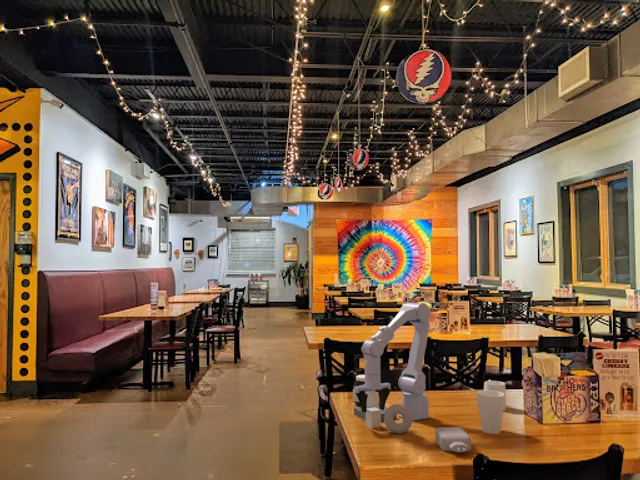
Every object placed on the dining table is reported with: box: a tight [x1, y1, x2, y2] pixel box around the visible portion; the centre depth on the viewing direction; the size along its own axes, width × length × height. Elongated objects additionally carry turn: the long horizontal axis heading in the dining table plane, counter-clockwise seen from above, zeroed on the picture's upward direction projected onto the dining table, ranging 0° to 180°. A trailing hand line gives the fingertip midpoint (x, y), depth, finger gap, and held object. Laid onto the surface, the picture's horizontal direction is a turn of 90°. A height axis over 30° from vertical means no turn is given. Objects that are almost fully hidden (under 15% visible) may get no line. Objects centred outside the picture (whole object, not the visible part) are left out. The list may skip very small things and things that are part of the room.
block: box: [365, 407, 382, 429], centre depth 183 cm, size 4×4×6 cm
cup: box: [483, 379, 507, 411], centre depth 209 cm, size 8×12×10 cm
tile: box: [353, 404, 398, 422], centre depth 195 cm, size 12×12×2 cm
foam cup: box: [476, 389, 505, 435], centre depth 177 cm, size 10×9×13 cm
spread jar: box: [352, 374, 379, 407], centre depth 212 cm, size 12×11×12 cm
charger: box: [434, 426, 472, 453], centre depth 158 cm, size 5×9×15 cm
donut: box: [383, 403, 413, 435], centre depth 174 cm, size 10×4×10 cm, turn 82°
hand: (372, 410), depth 183 cm, fingers open, 7 cm apart
